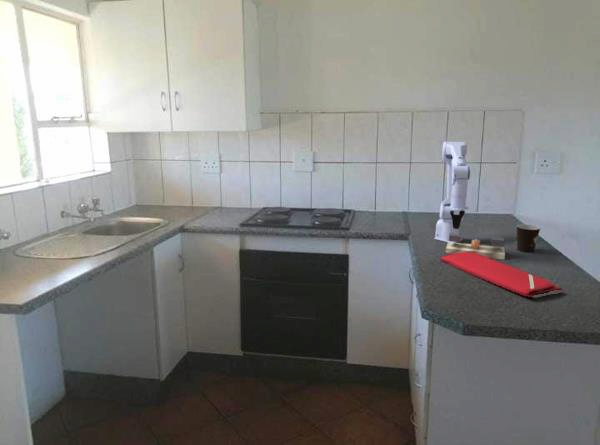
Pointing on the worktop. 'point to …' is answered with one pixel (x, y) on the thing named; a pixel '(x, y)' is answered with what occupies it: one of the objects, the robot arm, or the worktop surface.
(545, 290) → the dish drying mat
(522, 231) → the coffee mug
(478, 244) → the orange knob
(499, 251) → the mount board
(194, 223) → the worktop surface
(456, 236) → the button
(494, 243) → the button
